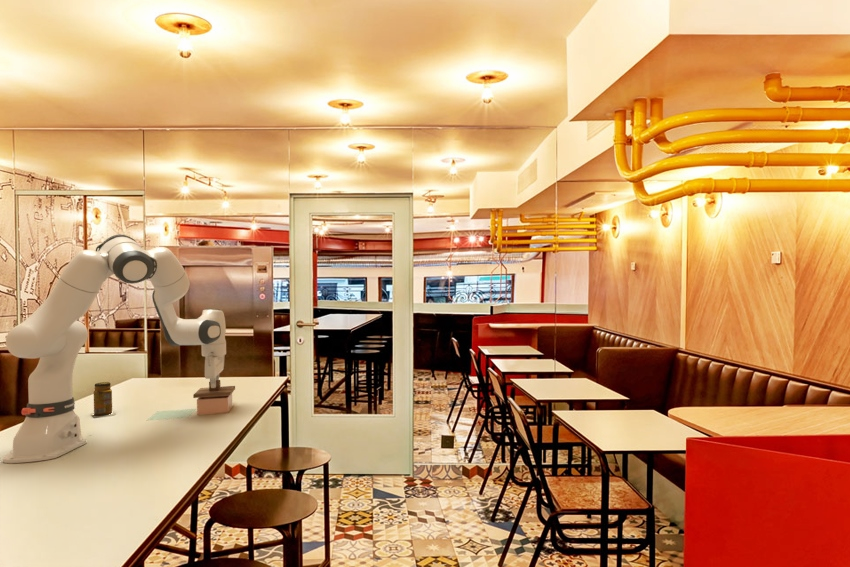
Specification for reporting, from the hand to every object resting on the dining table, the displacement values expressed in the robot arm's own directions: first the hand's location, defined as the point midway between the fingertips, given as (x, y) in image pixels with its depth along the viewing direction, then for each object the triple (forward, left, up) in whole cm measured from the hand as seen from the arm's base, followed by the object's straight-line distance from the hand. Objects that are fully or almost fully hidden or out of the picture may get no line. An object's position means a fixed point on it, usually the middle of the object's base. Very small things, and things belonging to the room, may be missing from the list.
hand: (214, 386), depth 204 cm
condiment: (+8, +42, -10) cm, 44 cm away
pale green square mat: (-2, +15, -10) cm, 18 cm away
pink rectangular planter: (0, 0, -10) cm, 10 cm away
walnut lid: (0, 0, -3) cm, 3 cm away
